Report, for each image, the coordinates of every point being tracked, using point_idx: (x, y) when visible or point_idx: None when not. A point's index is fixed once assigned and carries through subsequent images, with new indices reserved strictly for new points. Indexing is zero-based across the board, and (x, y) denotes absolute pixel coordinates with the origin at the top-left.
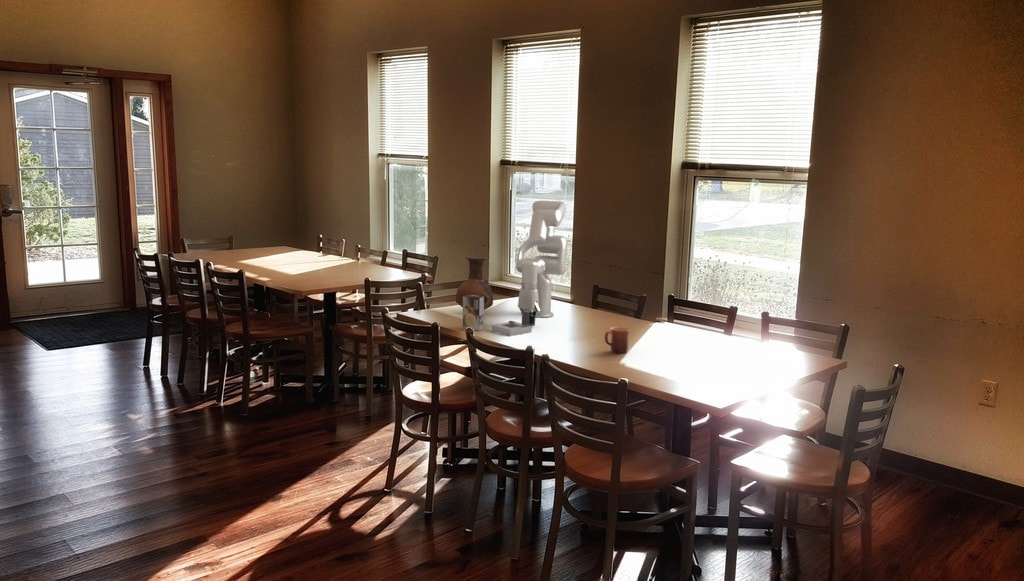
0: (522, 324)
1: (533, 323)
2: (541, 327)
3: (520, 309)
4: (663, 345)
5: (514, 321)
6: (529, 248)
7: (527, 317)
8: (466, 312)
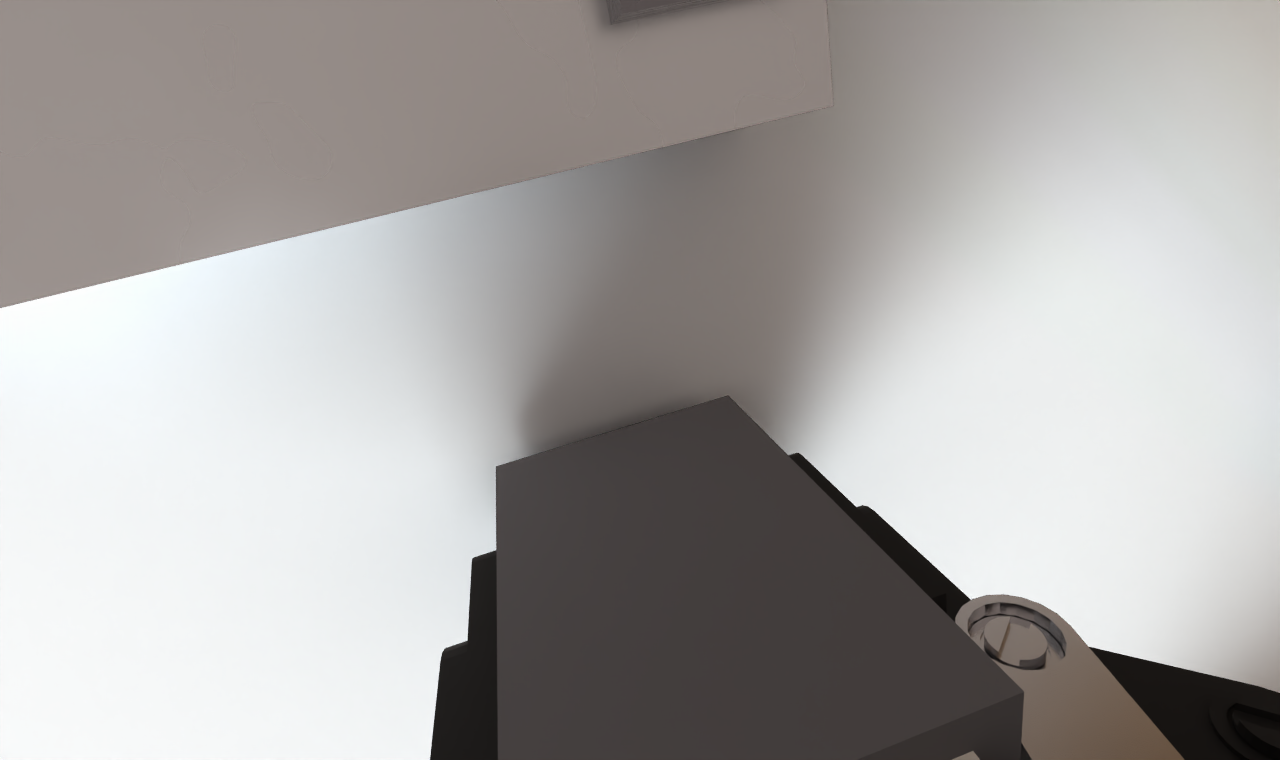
0: (128, 148)
1: None
2: None
3: (1258, 719)
4: None
5: (622, 2)
6: None
7: (561, 635)
8: None
